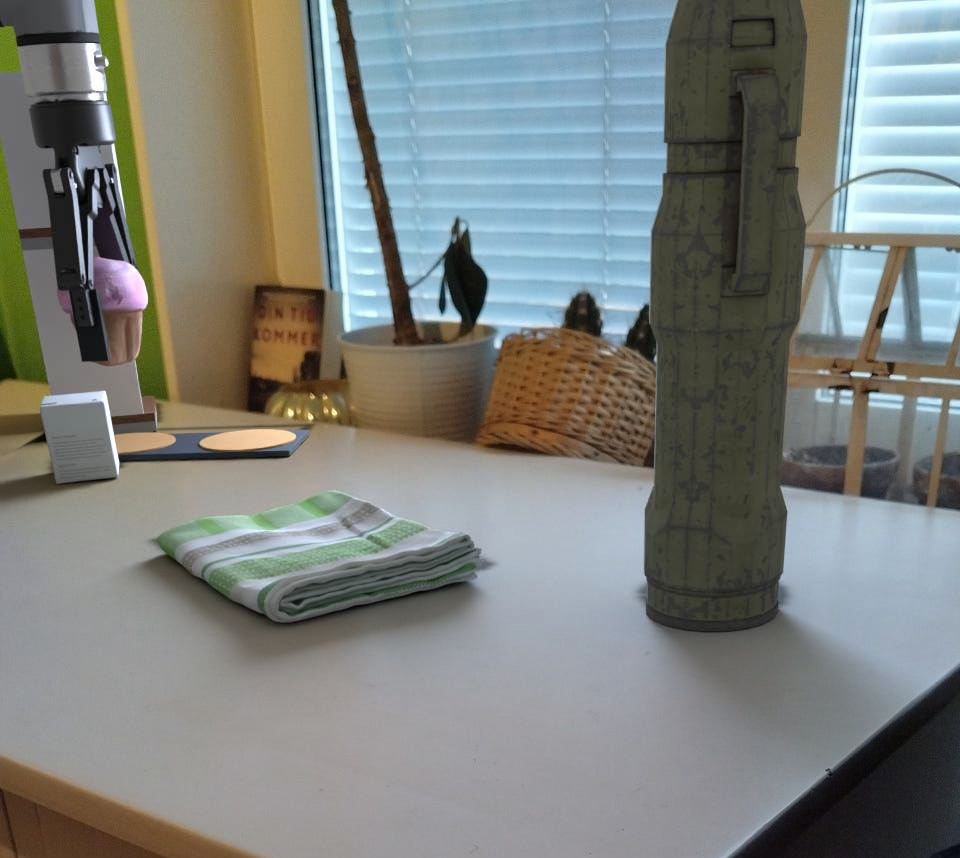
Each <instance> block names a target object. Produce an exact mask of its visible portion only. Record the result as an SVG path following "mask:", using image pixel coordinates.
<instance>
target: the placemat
mask: <svg viewBox="0 0 960 858" xmlns="http://www.w3.org/2000/svg"><path fill="white" fill-rule="evenodd" d="M309 436H310V430H309V429H292V430H291V429H289V430H285V429H273V428H258V429H257V428H255V429H253V428H252V429H241V430H234V431H220V432H219V431H217V432H216V431H215V432H214V431H213V432H184V433H183V432H182V433H177V432H176V433H164V432H144V433H127V434H117V435H114V438H115V444H116V449H117V454H118V459H119V462H122V461H123V462H125V461H157V460H158V461H159V460H160V461H165V460H166V461H167V460H168V461H169V460H199V459H200V460H201V458H207V459H229V458H228V457H231V458H230V459H234V458H233V457H238V458H237V459H240V458H239V457H246V458H266V457H265V456H284V457H291V456H292V454H294V452H295V451H296V450H298V449H299V447H300V446H301V445H302V444H303V443H304V442H305V441H306V440H307V439H308V438H309ZM306 438H307V439H306ZM305 439H306V440H305ZM304 440H305V441H304ZM303 441H304V442H303ZM302 442H303V443H302ZM301 443H302V444H301ZM300 444H301V445H300ZM299 445H300V446H299ZM290 455H291V456H290Z"/></svg>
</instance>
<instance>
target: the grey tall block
mask: <svg viewBox="0 0 960 858" xmlns="http://www.w3.org/2000/svg"><path fill="white" fill-rule="evenodd" d="M102 98H103V100H102V101H108V95H107V92H106V93H104V94H102ZM32 104H34V101H33V97H28V96H27V95H26V94H25V89H24V84H23V78H22V72H21V70H20V71H0V142H1V148H2V153H3V158H4V159H3V160H4V163H5V168H6V174H7V179H8V185H9V189H10V194H11V200H12V204H13V210H14V215H15V221H16V223H17V224H16V225H17V230H18V235H19V240H20V246H21V250H22V251H21V252H22V255H23V261H24V266H25V271H26V276H27V282H28V286H29V291H30V296H31V302H32V306H33V312H34V316H35V323H36V326H37V327H36V328H37V332H38V337H39V343H40V348H41V352H42V358H43V363H44V368H45V373H46V378H47V379H46V380H47V383H48V389H49V395H50V396H52V395H64V394H76V393H87V392H98V391H105V392H106V396H107V401H108V406H109V411H110V417H111V422H112V428H113V433H114V435H117V434H127V433H144V432H151V433H154V432H153V431H157V432H158V412H157V405H156V399H155V395H154V394H153V395H144V396H142V393H141V388H140V381H139V377H138V370H137V369H138V368H137V363H136V359H135V360H133V361H132V362H128V363H124V364H121V365H116V366H102V365H99V364H97V363H93V362H82V359H81V354H80V348H79V343H78V338H77V332H76V330H75V328H74V325H73V323H72V321H71V317H70V314H67V313H65V312H64V311H63V309H62V307H61V306H60V304H59V301H58V296H57V288H58V286H57V279H56V270H55V260H54V251H53V242H52V232H51V223H50V214H49V204H48V196H47V192H46V188H45V183H44V179H43V170H44V169H55V152H54V149H53V148H45V149H42V148H39V147H38V146H37V145H36V143H35V139H34V134H33V129H32V123H31V118H30V113H29V109H30V108H31V106H30V105H32ZM100 152H101V156H102V159H103V162H104V164H110V163H114V164H115V166H116V169H117V178H118V186H119V191H120V196H121V200H122V204H123V209H124V213H125V217H126V218H127V215H126V210H125V203H124V197H123V190H122V185H121V178H120V171H119V165H118V160H117V152H116V145H115V143H114V144H112V145H100ZM126 222H127V220H126ZM127 223H128V222H127ZM93 257H100V256H99V253H98V250H97V247H96V244H95V242H94V239H93Z"/></svg>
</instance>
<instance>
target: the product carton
mask: <svg viewBox="0 0 960 858" xmlns="http://www.w3.org/2000/svg"><path fill="white" fill-rule="evenodd" d="M39 412H40V417H41V421H42V422H41V423H42V427H43V430H44V434H45V439H46V443H47V448H48V453H49V457H50V461H51V462H50V463H51V466H52V470H53V475H54V480H55V483H56V484H57V485H60V484H69V483H76V482H86V481H87V482H88V481H95V480H104V479H113V478H114V479H115V478H119V471H120V461H119V459H118V454H117V449H116V444H115V438H114V433H113V428H112V422H111V417H110V411H109V406H108V401H107V396H106V392H105V391H98V392H87V393H76V394H64V395H52V396H51V395H44V396H43V398H42V401H41V403H40V405H39Z"/></svg>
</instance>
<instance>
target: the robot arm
mask: <svg viewBox="0 0 960 858" xmlns="http://www.w3.org/2000/svg"><path fill="white" fill-rule="evenodd" d="M95 3H96V2H95V0H0V28H5V27H12V28H13V31H14V34H15V42H16V49H17V55H18V61H19V66H20V71H21V72H22V78H23V84H24V89H25V94H26V95H27V96H28V97H33V101H34V104H32V105H30V106H31V108H30V109H29V113H30V118H31V123H32V129H33V134H34V139H35V143H36V145H37V146H38V147H39V148H42V149H45V148H53V149H54V152H55V169H44V170H43V179H44V183H45V188H46V192H47V196H48V204H49V214H50V223H51V232H52V242H53V251H54V260H55V270H56V279H57V286H58V289H59V291H69V294H70V300H71V305H72V310H73V316H74V321H75V327H76V332H77V338H78V343H79V348H80V354H81V359H82V362H91V361H109V360H111V357H110V352H109V346H108V340H107V335H106V329H105V323H104V317H103V312H102V306H101V300H100V294H99V289H93V286H94V280H93V239H94V242H95V244H96V247H97V250H98V253H99V256H100V257H101V258H105V259H110V260H117V261H125V262H127V263H129V264H131V265H132V266H134V267H135V269H136V270H137V271H138V272H139V273H140V271H139V270H140V269H139V266H137V260H136V257H135V253H134V248H133V244H132V243H133V242H132V239H131V235H130V230H129V225H128V222H126V221H127V216H126V217H125V215H126V212H125V213H124V209H125V208H124V209H123V204H122V200H121V196H120V191H119V186H118V178H117V169H116V166H115V164H114V163H110V164H104V162H103V159H102V156H101V152H100V145H112V144H114V145H115V142H116V141H117V135H116V129H115V124H114V123H115V122H114V118H113V116H114V115H113V111H112V105H111V104H109V100H107V101H102V100H103V98H102V94H104V93H106V94H107V92H108V84H107V83H108V82H107V76H106V71H105V68H107V67H108V66H109V59H108V57H107V56H106V55H103V52H102V46H101V38H100V32H99V25H98V18H97V11H96V4H95ZM140 346H142V343H141V344H140Z"/></svg>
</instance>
